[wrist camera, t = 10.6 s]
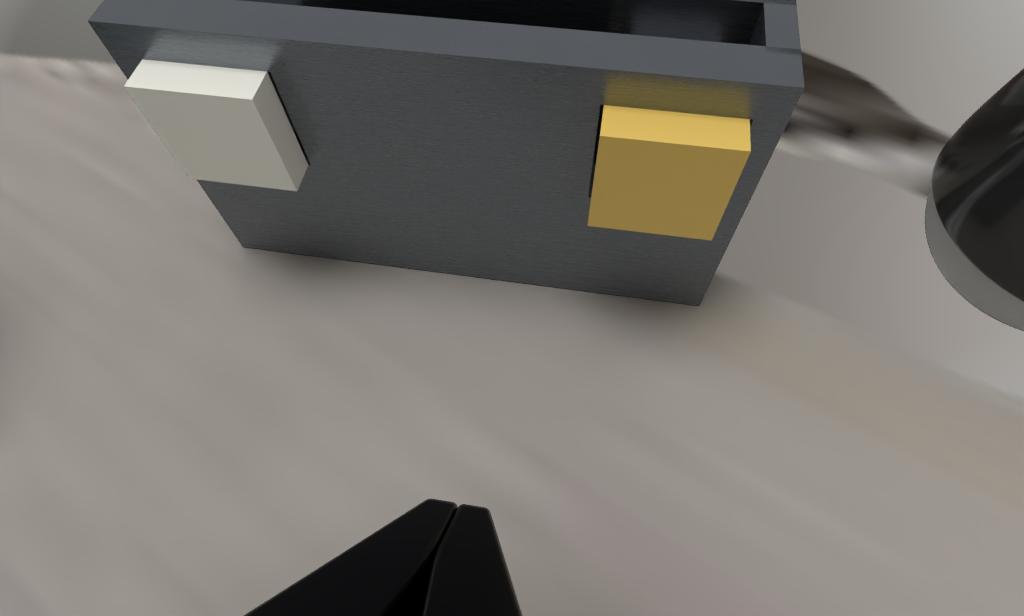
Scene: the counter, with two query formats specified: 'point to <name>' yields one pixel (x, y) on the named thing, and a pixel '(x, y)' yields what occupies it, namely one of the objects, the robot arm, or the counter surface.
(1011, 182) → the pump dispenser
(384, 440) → the counter surface
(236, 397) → the counter surface
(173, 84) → the ivory button
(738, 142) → the amber button
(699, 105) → the button panel
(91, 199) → the counter surface
